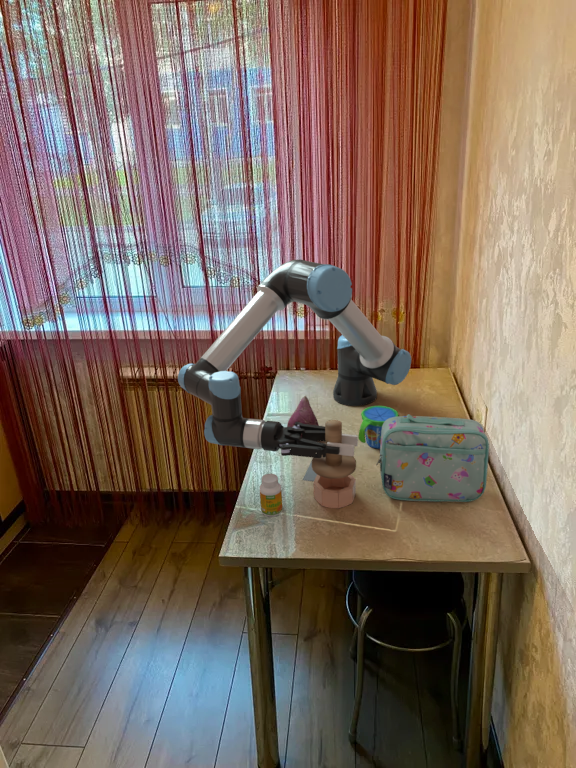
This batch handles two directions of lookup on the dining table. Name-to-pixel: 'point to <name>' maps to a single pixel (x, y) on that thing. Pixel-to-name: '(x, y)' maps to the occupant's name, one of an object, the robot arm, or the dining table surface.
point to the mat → (310, 474)
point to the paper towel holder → (334, 455)
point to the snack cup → (374, 424)
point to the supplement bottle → (270, 495)
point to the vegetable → (303, 414)
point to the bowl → (334, 491)
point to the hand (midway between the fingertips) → (355, 445)
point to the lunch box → (433, 458)
